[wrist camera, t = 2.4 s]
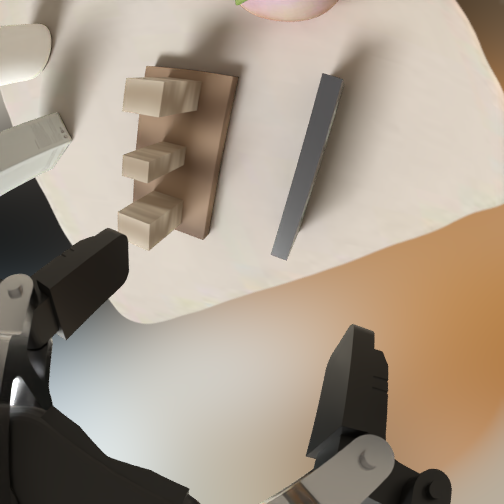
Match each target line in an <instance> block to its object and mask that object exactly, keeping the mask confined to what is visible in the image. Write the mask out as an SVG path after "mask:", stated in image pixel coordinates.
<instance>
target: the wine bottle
mask: <svg viewBox="0 0 504 504" xmlns="http://www.w3.org/2000/svg"><path fill="white" fill-rule="evenodd" d="M50 51H51V34H50V31H49V29H48V28H47V27H46V26H45V25H42V24H21V25H8V26H0V86H2V85H6V84H10V83H15V82H20V81H25V80H30V79H33V78H35V77H36V76H38V75H39V74H40V73H41V72H42V70H43V69H44V67H45V66H46V63H47V61H48V58H49V55H50Z"/></svg>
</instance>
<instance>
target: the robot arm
mask: <svg viewBox="0 0 504 504" xmlns="http://www.w3.org/2000/svg"><path fill="white" fill-rule="evenodd" d="M128 273H129V259H128V238H127V236H126V235H124V234H122V233H120V232H117V231H115V230H113V229H110V228H107V229H105V230H103V231H102V232H100V233H99V234H97V235H96V236H92V237H89V238H86V239H84V240H81V241H79V242H78V243H76V244H75V245H73V246H72V247H70V249H69V250H68V249H67V250H66V251H65V252H63V253H62V255H61V256H60V255H59V256H58V257H56V258H55V259H54V260H52V261H51V262H49V264H47V265H46V266H44V267H43V268H41V269H40V270H39V271H37V272H36V273H35V274H34V275H32V276H31V277H29V276H27V275H24V274H15V275H12V276H9V277H7V278H6V279H4V280H2V279H0V504H200V503H199V502H198V501H197V500H196V499H194V498H193V497H192V496H190V495H189V494H188V493H189V488H187V487H184V486H182V485H180V484H178V483H176V482H173V481H171V480H169V479H167V478H165V477H163V476H161V475H159V474H157V473H155V472H153V471H151V470H148V469H145V468H141V467H138V466H134V465H131V464H128V463H125V462H121V461H118V460H115V459H112V458H110V457H108V456H106V455H105V454H104V453H103V452H102V451H101V450H100V449H99V448H98V447H97V446H96V444H95V443H94V442H93V441H92V440H91V439H90V438H89V437H88V436H87V434H86V433H85V432H84V431H83V430H82V429H81V428H80V426H78V425H77V424H76V423H74V422H73V421H72V420H70V419H69V418H67V417H66V416H65V415H64V414H62V413H61V412H60V411H59V410H57V409H56V408H55V407H54V406H53V404H52V399H51V395H50V391H49V376H50V363H51V354H52V345H53V341H52V337H53V336H54V334H56V333H57V334H58V335H59V336H61V337H62V338H63V339H65V340H67V339H68V338H69V337H70V336H71V335H72V334H73V333H74V332H75V331H76V330H77V329H78V328H79V327H80V326H81V325H82V324H83V323H84V322H85V321H86V320H87V319H88V318H89V317H90V316H91V315H92V314H93V313H94V312H95V311H96V310H97V309H98V308H99V307H100V306H101V305H102V304H103V303H104V302H105V301H106V300H107V299H108V298H109V297H111V296H112V295H113V294H114V293H115V292H116V291H117V290H118V289H119V288H120V287H121V286H122V285H123V284H124V283H125V281H126V279H127V276H128ZM387 381H388V364H387V362H386V359H385V357H384V354H383V352H382V351H379V350H375V349H374V332H373V331H371V330H368V329H365V328H362V327H359V326H357V325H353V324H352V325H351V326H350V327H349V328H348V330H347V331H346V333H345V335H344V336H343V338H342V339H341V341H340V343H339V344H338V346H337V347H336V349H335V350H334V352H333V353H332V355H331V357H330V360H329V362H328V364H327V368H326V372H325V376H324V381H323V386H322V391H321V396H320V400H319V405H318V409H317V413H316V418H315V422H314V426H313V430H312V434H311V438H310V442H309V446H308V450H307V454H306V456H307V457H310V458H314V459H316V461H315V465H314V469H313V470H311V471H310V472H308V473H307V474H305V475H304V476H303V477H301V478H300V479H298V480H297V481H295V482H294V483H292V484H291V485H289V486H288V487H286V488H285V489H283V490H281V491H280V492H278V493H276V494H275V495H273V496H271V497H270V498H268V499H266V500H265V501H263V502H261V503H260V504H450V502H451V491H452V488H451V483H450V480H449V478H448V477H447V475H445V474H444V473H443V472H442V471H440V470H438V469H429V470H426V471H424V472H422V473H420V474H419V473H417V472H415V471H414V470H412V469H410V468H408V467H406V466H404V465H402V464H401V463H399V462H398V461H396V460H395V459H394V453H393V450H392V448H391V447H390V445H389V444H388V443H387V442H386V422H387V401H388V400H387V399H388V394H387V392H388V382H387Z"/></svg>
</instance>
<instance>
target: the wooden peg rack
mask: <svg viewBox="0 0 504 504" xmlns="http://www.w3.org/2000/svg"><path fill="white" fill-rule="evenodd" d="M238 78H239V77H234V76H228V75H222V74H216V73H210V72H203V71H195V70H187V69H178V68H167V67H155V66H146V71H145V77H144V78H126V85H125V92H124V101H123V110H122V111H123V112H130V113H136V114H139V123H138V133H137V144H136V151H133V152H130V153H127V154H125V155H123V165H122V176H125V177H128V178H131V179H134V193H133V203H132V204H130V205H129V206H127V207H125V208H124V209H122V210H120V211H119V212H118V232H120V233H122V234H124V235H126V236H127V238H128V242H129V243H131V244H134V245H136V246H138V247H141V248H143V249H145V250H148V251H149V250H150V249H152V248H153V247H154V246H155V245H156V244H157V243H159V242H160V241H161V240H162V239H163V238H165V237H166V236H167V235H168V234H169V233H171V232H172V231H173V230H174V229H175V230H178V231H181V232H183V233H186V234H189V235H191V236H194V237H197V238H199V239H202V240H203V239H204V238H205V237H206V236H207V235H208V234H209V229H210V223H211V217H212V211H213V205H214V199H215V193H216V188H217V182H218V177H219V171H220V166H221V160H222V155H223V150H224V145H225V140H226V135H227V130H228V125H229V120H230V115H231V110H232V106H233V101H234V96H235V92H236V87H237V83H238Z"/></svg>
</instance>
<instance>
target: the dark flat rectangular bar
mask: <svg viewBox="0 0 504 504" xmlns="http://www.w3.org/2000/svg"><path fill="white" fill-rule="evenodd" d="M343 86H344V81H343V79H340V78H337V77H334V76H331V75H327V74H324V73H322V77H321V81H320V85H319V88H318V92H317V96H316V99H315V103H314V107H313V110H312V114H311V117H310V121H309V125H308V128H307V132H306V135H305V139H304V142H303V146H302V149H301V153H300V157H299V160H298V164H297V167H296V171H295V174H294V178H293V181H292V184H291V188H290V191H289V195H288V198H287V202H286V205H285V208H284V212H283V215H282V219H281V222H280V225H279V229H278V232H277V235H276V239H275V242H274V246H273V249H272V252H271V255H273V256H275V257H278V258H281V259H284V260H286V261H287V258H288V256H289V254H290V251H291V249H292V247H293V244H294V242H295V239H296V237H297V235H298V232H299V229H300V226H301V223H302V220H303V217H304V214H305V211H306V208H307V205H308V202H309V199H310V196H311V193H312V189H313V186H314V183H315V180H316V177H317V174H318V171H319V167H320V164H321V161H322V158H323V154H324V151H325V148H326V145H327V141H328V138H329V135H330V131H331V128H332V125H333V121H334V118H335V114H336V111H337V108H338V104H339V101H340V97H341V94H342V90H343Z"/></svg>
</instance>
